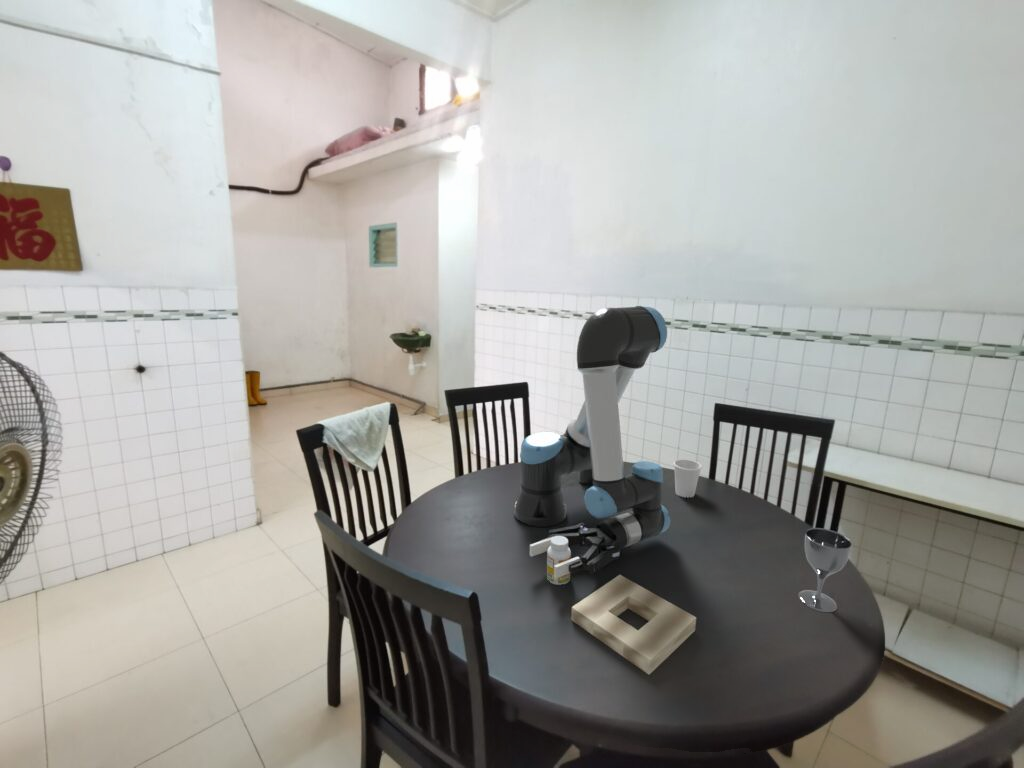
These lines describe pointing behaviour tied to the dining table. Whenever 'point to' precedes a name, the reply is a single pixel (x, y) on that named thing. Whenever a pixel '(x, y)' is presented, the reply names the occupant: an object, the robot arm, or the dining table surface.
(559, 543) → the supplement bottle
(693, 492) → the dixie cup
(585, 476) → the supplement bottle
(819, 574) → the wine glass
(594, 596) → the socket block
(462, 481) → the dining table surface
